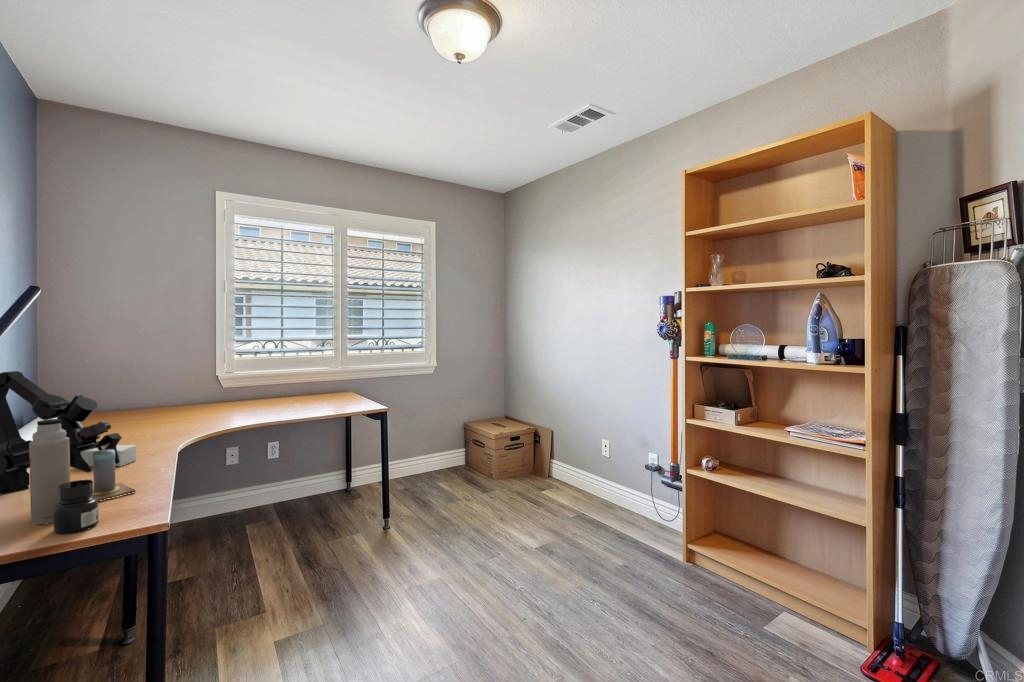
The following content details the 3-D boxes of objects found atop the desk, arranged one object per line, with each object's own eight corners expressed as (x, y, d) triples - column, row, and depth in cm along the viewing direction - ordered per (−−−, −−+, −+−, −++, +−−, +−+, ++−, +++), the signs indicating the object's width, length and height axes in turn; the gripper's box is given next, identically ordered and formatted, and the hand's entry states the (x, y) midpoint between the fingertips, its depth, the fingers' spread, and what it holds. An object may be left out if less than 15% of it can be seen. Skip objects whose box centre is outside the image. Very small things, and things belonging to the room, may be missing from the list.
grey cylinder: (92, 494, 146) (91, 454, 146) (94, 489, 150) (94, 450, 150) (114, 490, 149) (114, 451, 149) (116, 485, 154) (116, 448, 153)
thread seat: (87, 504, 142) (86, 499, 141) (73, 496, 148) (73, 491, 148) (135, 493, 152) (135, 488, 152) (120, 485, 158) (120, 481, 158)
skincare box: (79, 466, 178) (119, 468, 178) (78, 449, 178) (119, 450, 177) (98, 460, 186) (137, 461, 186) (98, 443, 186) (137, 444, 186)
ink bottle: (94, 531, 124) (93, 486, 124) (49, 538, 119) (47, 492, 119) (101, 518, 132) (101, 476, 132) (59, 524, 128) (58, 481, 127)
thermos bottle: (24, 527, 126) (22, 423, 125) (40, 515, 133) (38, 418, 132) (63, 522, 129) (60, 421, 128) (76, 511, 136) (74, 416, 135)
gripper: (57, 420, 140) (91, 458, 139) (116, 409, 159) (146, 442, 158) (34, 445, 141) (68, 483, 140) (96, 431, 160) (125, 464, 159)
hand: (104, 467), depth 149 cm, fingers open, 9 cm apart
